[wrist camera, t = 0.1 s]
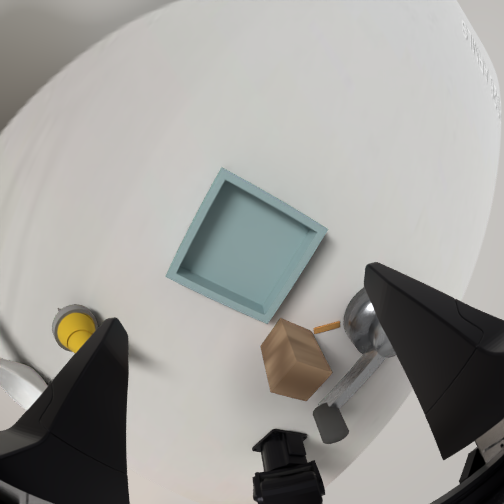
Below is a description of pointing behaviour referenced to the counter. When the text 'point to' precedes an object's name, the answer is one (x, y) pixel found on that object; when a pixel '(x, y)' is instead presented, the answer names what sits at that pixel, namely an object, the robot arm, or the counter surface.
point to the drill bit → (73, 327)
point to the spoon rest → (21, 382)
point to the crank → (351, 386)
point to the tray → (245, 247)
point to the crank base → (356, 321)
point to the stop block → (294, 361)
